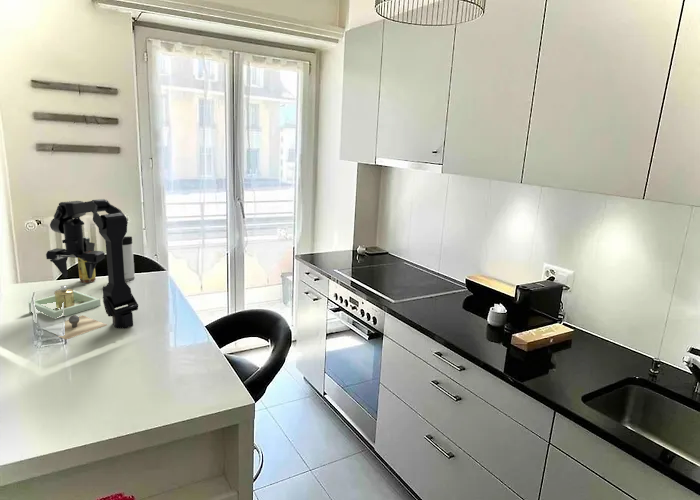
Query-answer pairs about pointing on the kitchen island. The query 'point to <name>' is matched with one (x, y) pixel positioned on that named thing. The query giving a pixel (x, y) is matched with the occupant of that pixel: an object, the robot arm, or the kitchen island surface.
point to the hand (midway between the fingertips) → (78, 277)
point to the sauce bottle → (82, 268)
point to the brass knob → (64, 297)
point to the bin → (78, 297)
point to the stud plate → (80, 326)
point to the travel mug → (128, 258)
